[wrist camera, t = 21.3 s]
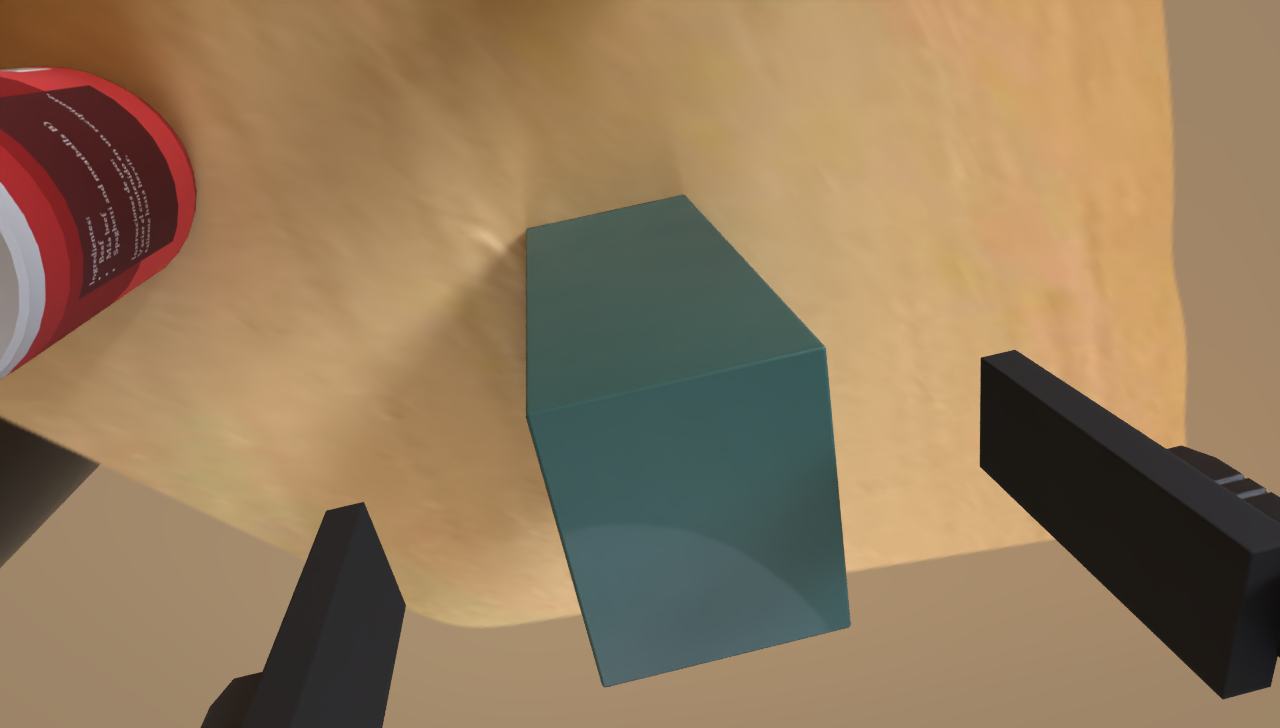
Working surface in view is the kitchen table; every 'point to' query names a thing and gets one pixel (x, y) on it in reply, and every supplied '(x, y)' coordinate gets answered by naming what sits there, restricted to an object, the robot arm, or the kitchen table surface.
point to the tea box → (680, 441)
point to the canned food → (81, 202)
